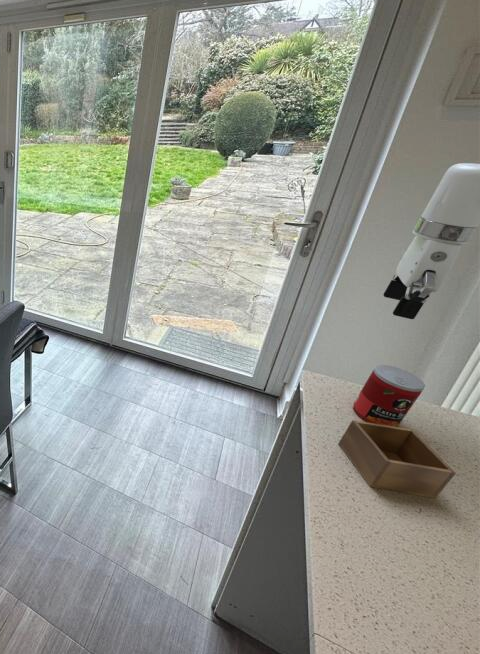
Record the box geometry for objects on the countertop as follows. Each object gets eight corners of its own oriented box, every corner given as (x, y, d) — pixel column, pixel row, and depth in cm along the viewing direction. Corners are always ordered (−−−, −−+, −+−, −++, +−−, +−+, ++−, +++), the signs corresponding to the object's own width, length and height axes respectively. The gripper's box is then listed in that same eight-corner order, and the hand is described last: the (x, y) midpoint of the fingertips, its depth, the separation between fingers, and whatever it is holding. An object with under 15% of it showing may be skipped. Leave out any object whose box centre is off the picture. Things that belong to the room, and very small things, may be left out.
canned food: (364, 425, 87) (390, 385, 82) (343, 400, 94) (366, 361, 89) (407, 432, 85) (436, 392, 80) (382, 406, 92) (408, 367, 87)
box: (395, 453, 80) (412, 429, 77) (435, 498, 72) (456, 473, 69) (337, 443, 82) (352, 419, 79) (369, 486, 73) (387, 461, 70)
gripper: (488, 248, 70) (433, 331, 78) (455, 223, 83) (411, 296, 91) (428, 238, 74) (381, 318, 82) (405, 216, 87) (367, 287, 95)
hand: (397, 307), depth 86 cm, fingers open, 9 cm apart
